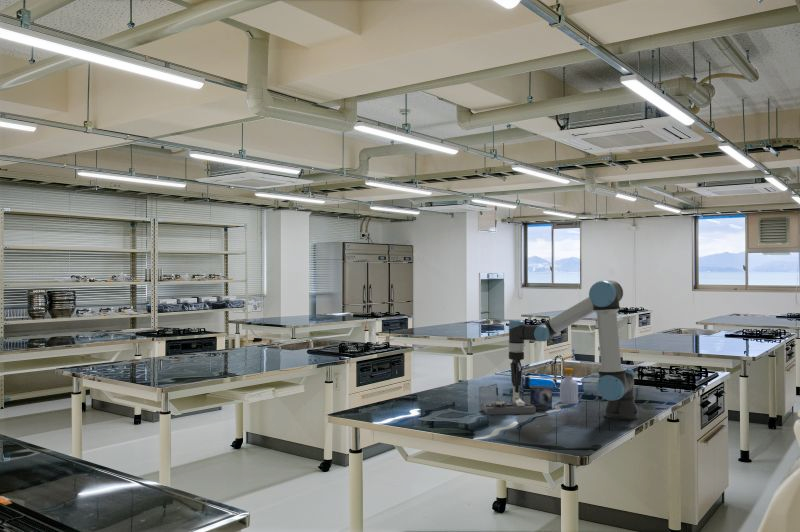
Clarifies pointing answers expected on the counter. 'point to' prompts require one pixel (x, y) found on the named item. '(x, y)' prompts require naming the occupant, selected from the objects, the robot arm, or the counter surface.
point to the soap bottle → (568, 387)
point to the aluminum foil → (595, 375)
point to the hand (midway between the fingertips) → (516, 398)
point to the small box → (541, 396)
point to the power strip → (510, 408)
